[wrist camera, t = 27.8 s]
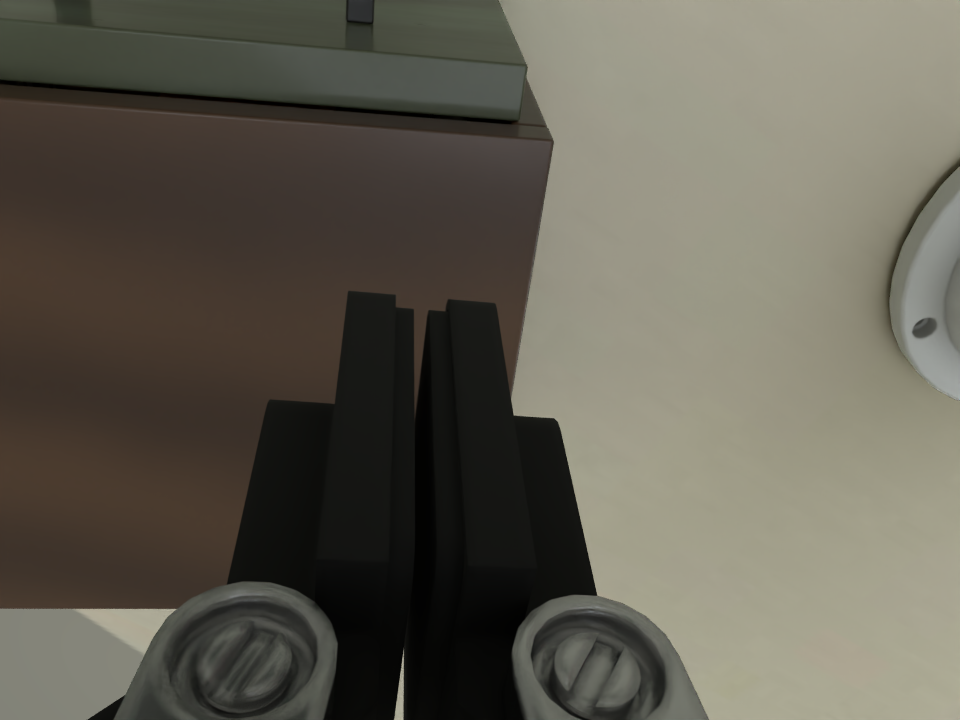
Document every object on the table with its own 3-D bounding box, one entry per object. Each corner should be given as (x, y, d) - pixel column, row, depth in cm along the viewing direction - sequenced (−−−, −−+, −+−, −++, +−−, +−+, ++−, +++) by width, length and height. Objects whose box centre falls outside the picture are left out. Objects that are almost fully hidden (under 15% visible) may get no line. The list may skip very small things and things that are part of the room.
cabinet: (-18, -26, 23) (-205, 82, 16) (504, 23, 25) (555, 140, 18) (67, 406, 32) (-30, 609, 24) (455, 418, 33) (476, 610, 26)
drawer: (-65, -329, 19) (-270, -361, 13) (518, -248, 21) (572, -244, 15) (68, 369, 30) (-12, 526, 24) (447, 383, 31) (462, 533, 25)
